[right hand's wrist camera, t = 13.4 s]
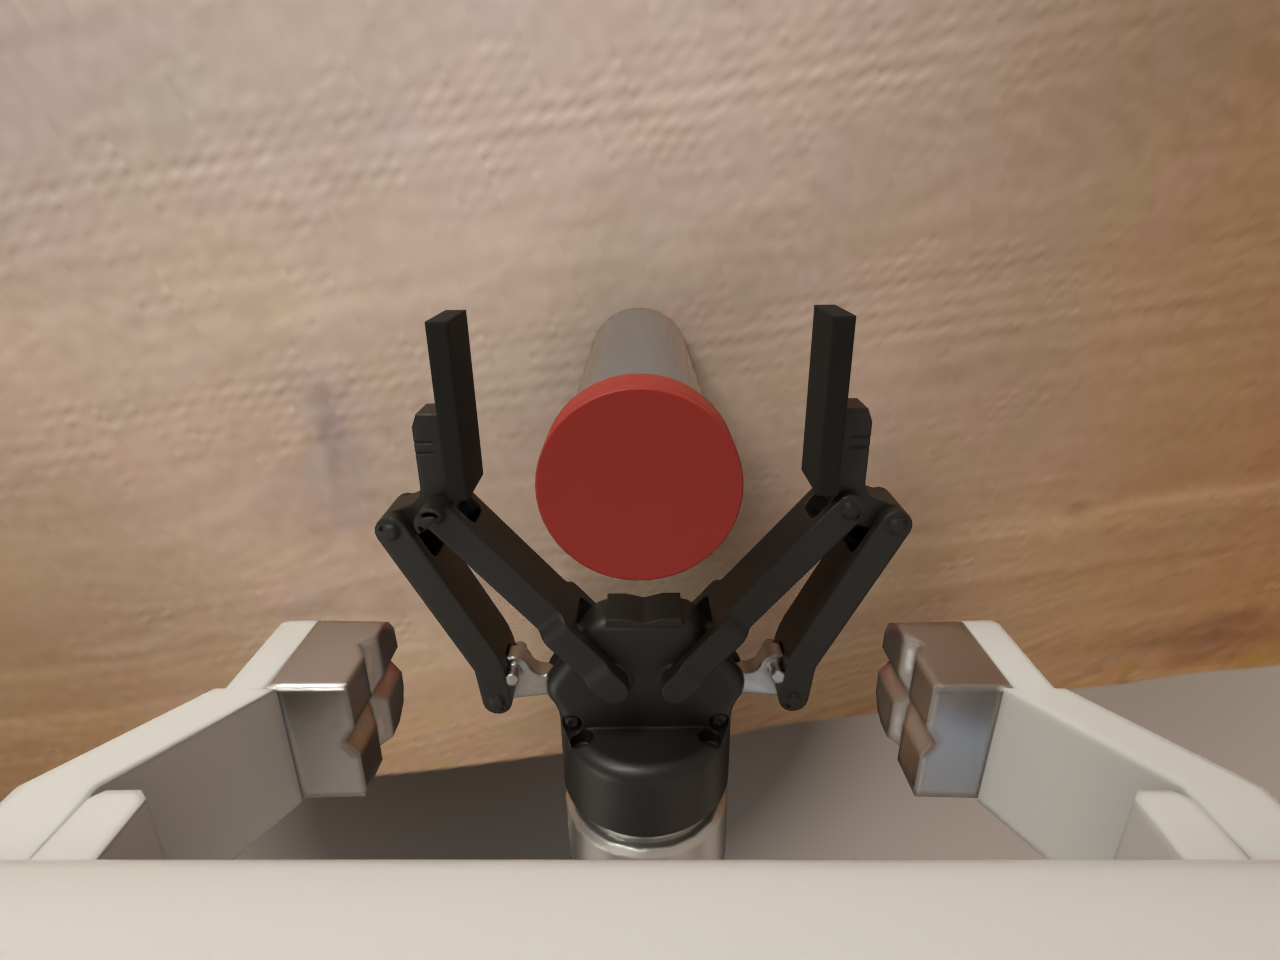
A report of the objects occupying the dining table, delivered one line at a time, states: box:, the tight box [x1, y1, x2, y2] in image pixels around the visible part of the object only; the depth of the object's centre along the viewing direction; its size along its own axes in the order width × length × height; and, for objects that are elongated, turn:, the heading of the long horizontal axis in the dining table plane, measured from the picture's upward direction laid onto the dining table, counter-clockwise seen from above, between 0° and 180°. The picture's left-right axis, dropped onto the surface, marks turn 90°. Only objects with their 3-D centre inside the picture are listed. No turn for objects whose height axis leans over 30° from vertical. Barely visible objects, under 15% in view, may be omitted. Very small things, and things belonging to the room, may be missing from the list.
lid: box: [535, 373, 743, 580], centre depth 17 cm, size 5×5×2 cm
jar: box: [576, 308, 702, 395], centre depth 24 cm, size 4×4×15 cm
